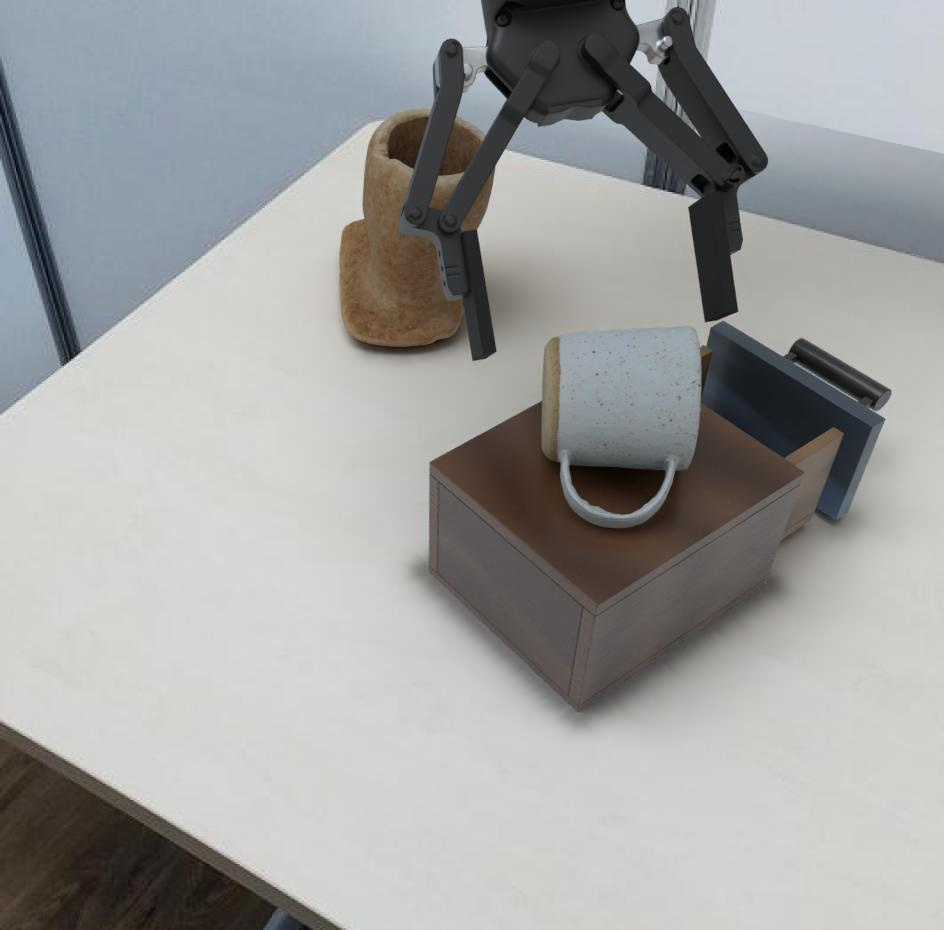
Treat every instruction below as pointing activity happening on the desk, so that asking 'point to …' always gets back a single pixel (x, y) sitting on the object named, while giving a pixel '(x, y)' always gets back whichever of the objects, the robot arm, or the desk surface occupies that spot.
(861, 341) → the desk surface
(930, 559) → the desk surface
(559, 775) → the desk surface
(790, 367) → the drawer
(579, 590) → the cabinet
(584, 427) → the ceramic mug
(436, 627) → the desk surface
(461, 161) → the stone cup
